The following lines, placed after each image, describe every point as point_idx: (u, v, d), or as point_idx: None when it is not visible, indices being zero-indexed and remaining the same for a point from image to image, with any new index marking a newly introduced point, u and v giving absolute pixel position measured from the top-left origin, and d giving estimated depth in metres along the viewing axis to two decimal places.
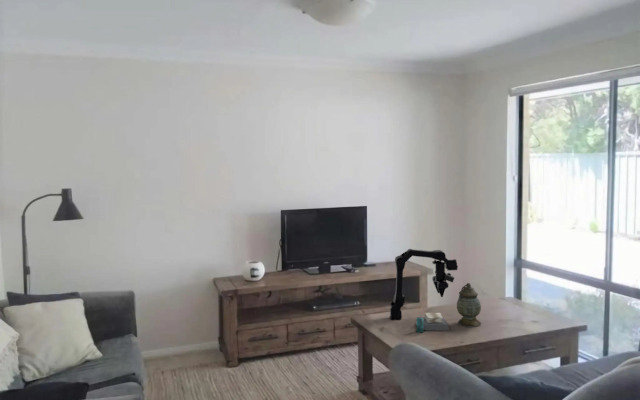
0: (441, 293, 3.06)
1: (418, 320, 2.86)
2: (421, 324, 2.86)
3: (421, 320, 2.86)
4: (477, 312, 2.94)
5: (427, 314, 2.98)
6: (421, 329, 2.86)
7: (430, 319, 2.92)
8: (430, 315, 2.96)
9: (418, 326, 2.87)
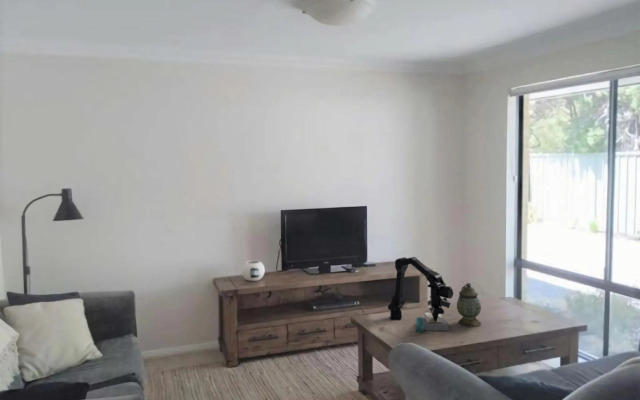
0: (435, 317, 2.90)
1: (418, 320, 2.86)
2: (421, 324, 2.86)
3: (421, 320, 2.86)
4: (477, 312, 2.94)
5: (427, 314, 2.99)
6: (421, 329, 2.86)
7: (430, 318, 2.93)
8: (430, 315, 2.96)
9: (418, 326, 2.87)
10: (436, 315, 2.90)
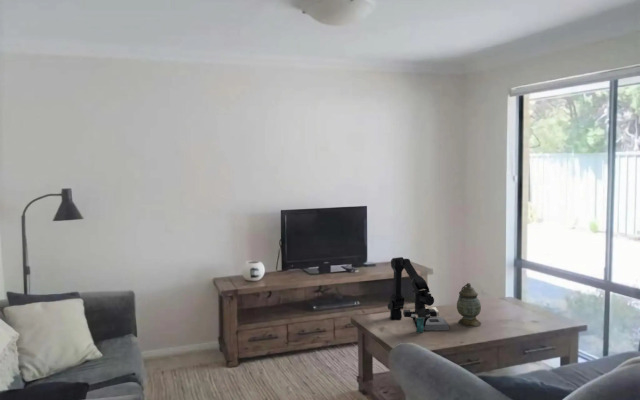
0: (414, 323, 2.89)
1: (418, 320, 2.86)
2: (421, 324, 2.86)
3: (421, 320, 2.86)
4: (477, 312, 2.94)
5: None
6: (421, 329, 2.86)
7: None
8: None
9: (418, 326, 2.87)
10: (414, 321, 2.88)
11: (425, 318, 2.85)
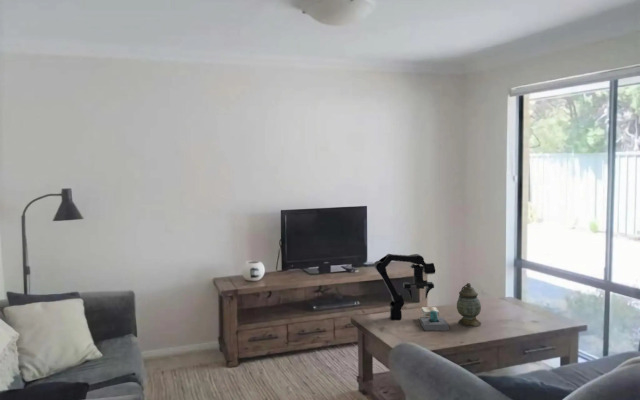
0: None
1: (432, 313, 2.95)
2: (435, 317, 2.95)
3: (435, 313, 2.95)
4: (477, 312, 2.94)
5: (423, 308, 3.10)
6: None
7: (426, 312, 3.04)
8: (427, 310, 3.07)
9: (432, 319, 2.95)
10: (409, 292, 3.14)
11: (427, 289, 3.11)
